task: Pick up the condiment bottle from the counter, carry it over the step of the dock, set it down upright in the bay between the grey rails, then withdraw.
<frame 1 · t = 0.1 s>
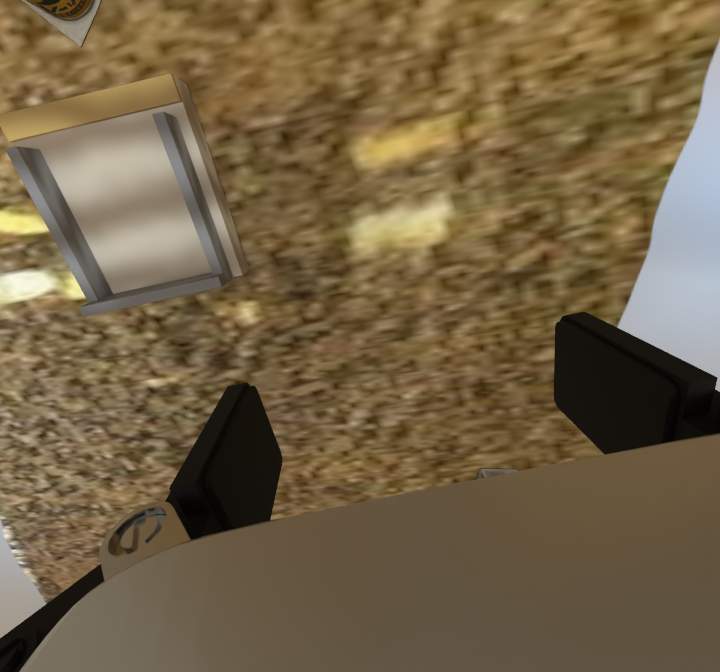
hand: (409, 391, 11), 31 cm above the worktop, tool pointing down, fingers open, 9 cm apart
dock: (148, 202, 37), on the worktop
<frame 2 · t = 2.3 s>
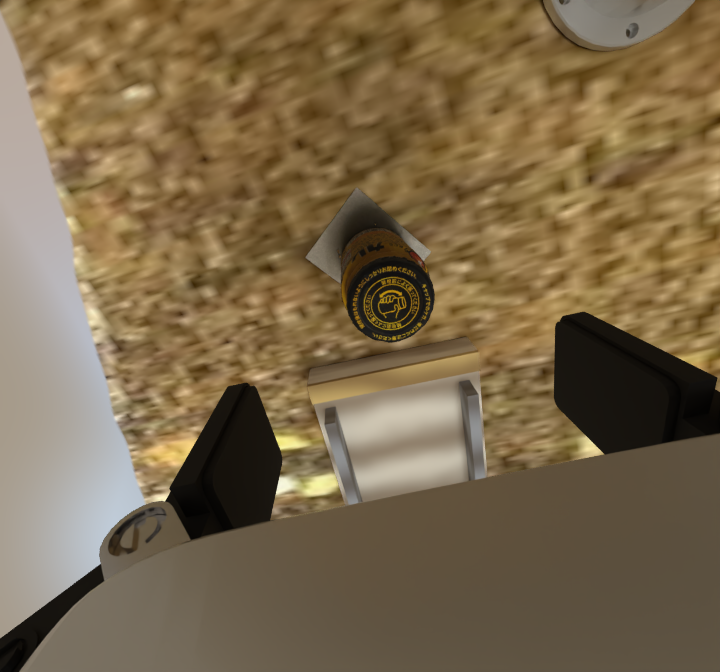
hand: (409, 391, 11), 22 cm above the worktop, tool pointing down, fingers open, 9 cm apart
dock: (401, 424, 38), on the worktop
condiment: (368, 253, 31), on the worktop
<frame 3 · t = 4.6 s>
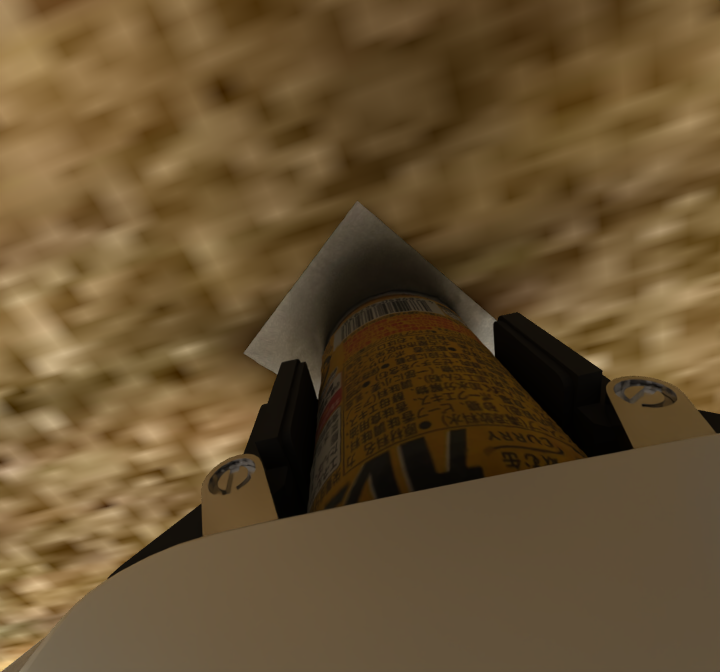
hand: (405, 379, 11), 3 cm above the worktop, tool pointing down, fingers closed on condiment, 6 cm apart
condiment: (381, 342, 14), on the worktop, touching gripper
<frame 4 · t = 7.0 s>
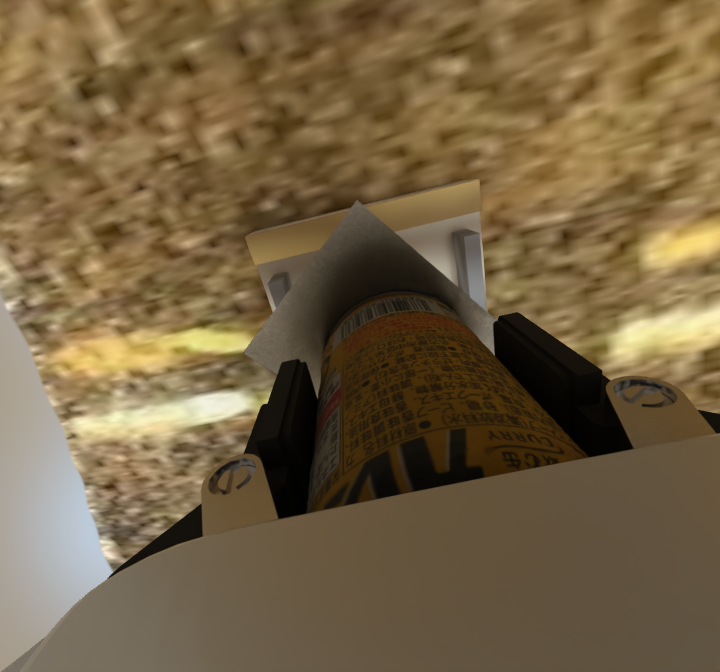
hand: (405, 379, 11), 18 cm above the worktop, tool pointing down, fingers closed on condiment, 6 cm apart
dock: (381, 314, 30), on the worktop
condiment: (381, 341, 14), point 15 cm above the worktop, touching gripper
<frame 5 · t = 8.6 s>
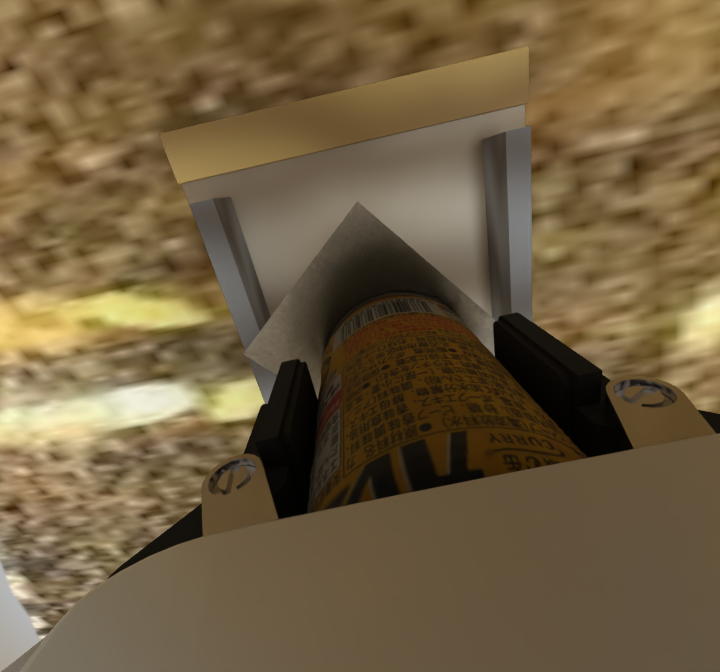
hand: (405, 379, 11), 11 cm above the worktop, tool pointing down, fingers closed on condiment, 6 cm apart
dock: (373, 277, 21), on the worktop
condiment: (381, 342, 14), point 8 cm above the worktop, touching gripper
when the fingers open (8 cm above the worktop, at t = 9.7 s): condiment drops 2 cm, resting on dock.
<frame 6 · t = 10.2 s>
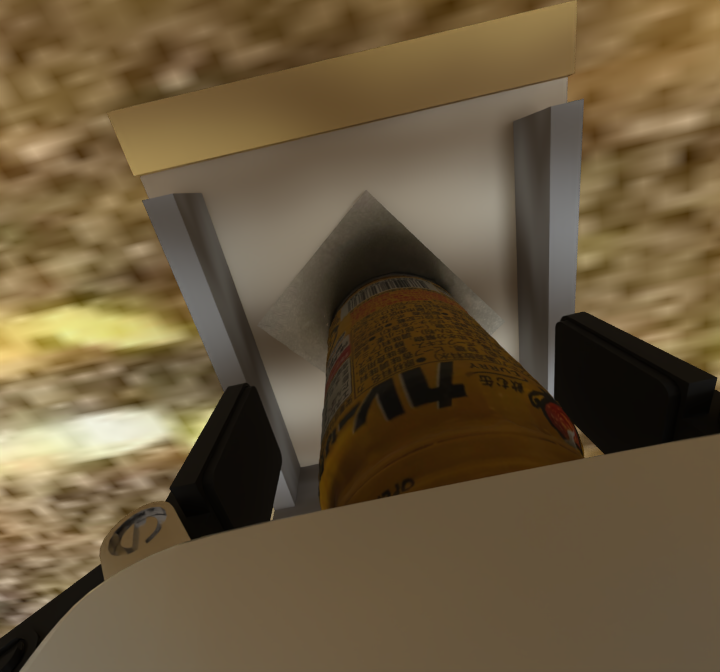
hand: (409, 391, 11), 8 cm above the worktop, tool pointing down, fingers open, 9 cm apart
dock: (376, 288, 18), on the worktop
condiment: (382, 320, 16), point 3 cm above the worktop, touching dock
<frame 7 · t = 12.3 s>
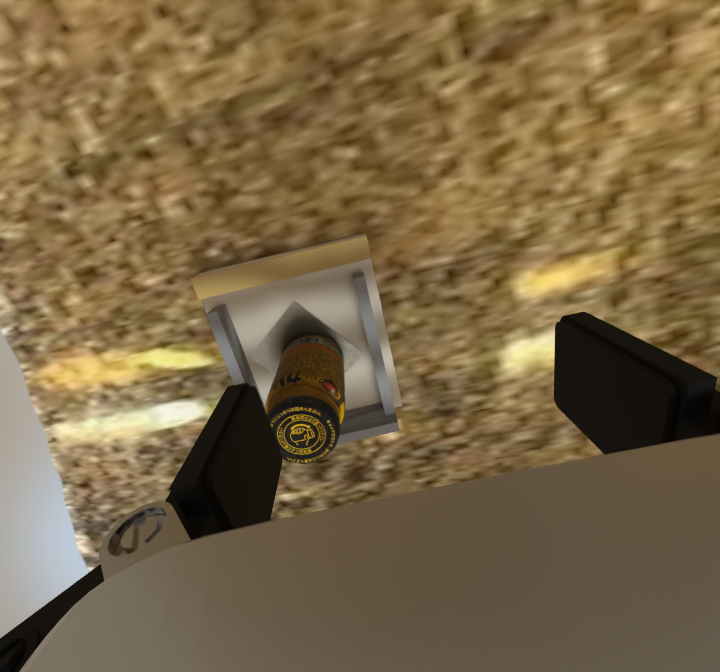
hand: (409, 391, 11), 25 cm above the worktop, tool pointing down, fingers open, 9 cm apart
dock: (308, 336, 37), on the worktop
condiment: (307, 353, 34), point 3 cm above the worktop, touching dock
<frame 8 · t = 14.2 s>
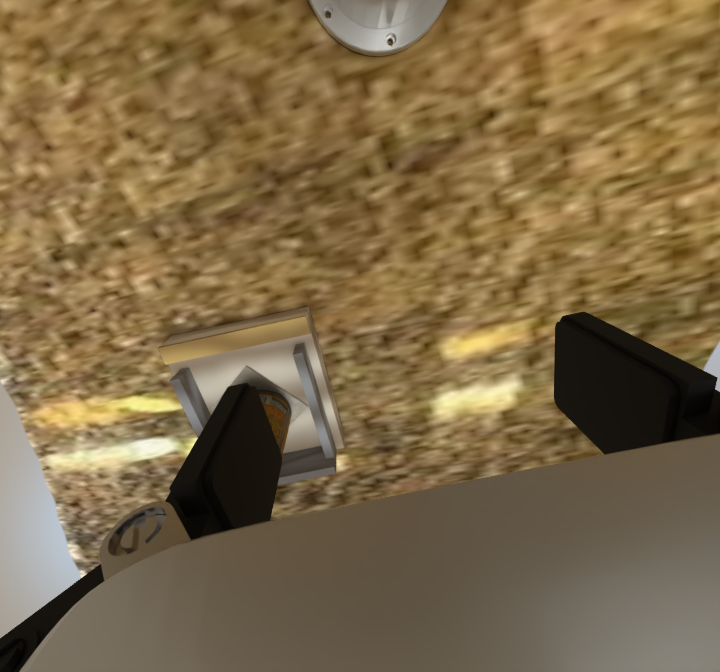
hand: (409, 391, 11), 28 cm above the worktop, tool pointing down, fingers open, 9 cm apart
dock: (264, 387, 43), on the worktop
condiment: (260, 405, 40), point 3 cm above the worktop, touching dock
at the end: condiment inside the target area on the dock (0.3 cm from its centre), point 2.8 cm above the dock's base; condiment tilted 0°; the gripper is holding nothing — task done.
